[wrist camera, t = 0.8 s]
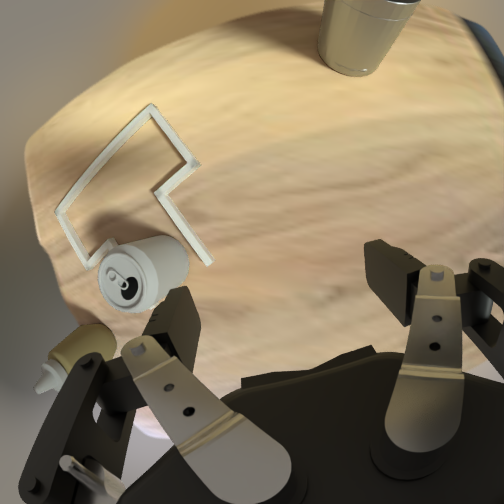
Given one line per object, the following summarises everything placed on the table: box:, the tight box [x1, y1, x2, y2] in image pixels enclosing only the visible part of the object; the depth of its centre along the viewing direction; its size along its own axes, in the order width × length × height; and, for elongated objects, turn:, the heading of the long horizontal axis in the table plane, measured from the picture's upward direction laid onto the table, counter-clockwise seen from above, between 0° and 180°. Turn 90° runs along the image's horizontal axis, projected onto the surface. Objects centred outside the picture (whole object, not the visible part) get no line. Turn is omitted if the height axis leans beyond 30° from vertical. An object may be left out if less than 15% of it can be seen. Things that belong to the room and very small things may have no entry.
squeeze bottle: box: [33, 324, 117, 394], centre depth 32 cm, size 8×8×18 cm
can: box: [98, 235, 189, 313], centre depth 31 cm, size 8×8×12 cm
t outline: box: [55, 103, 215, 310], centre depth 36 cm, size 23×24×2 cm
